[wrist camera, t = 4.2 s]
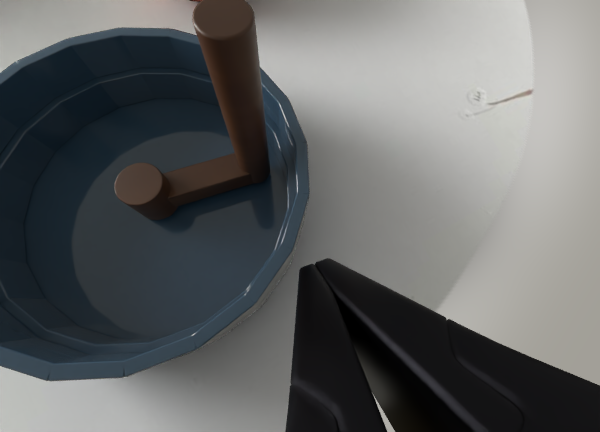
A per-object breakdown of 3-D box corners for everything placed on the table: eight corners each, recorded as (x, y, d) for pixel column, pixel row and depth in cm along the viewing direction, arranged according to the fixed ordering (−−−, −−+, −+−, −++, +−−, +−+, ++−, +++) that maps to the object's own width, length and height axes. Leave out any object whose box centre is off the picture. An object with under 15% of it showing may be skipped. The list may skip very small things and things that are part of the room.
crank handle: (275, 184, 18) (265, 38, 8) (142, 225, 17) (-55, 110, 7) (263, 152, 19) (241, -20, 9) (135, 189, 17) (-56, 38, 8)
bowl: (343, 291, 17) (367, 284, 12) (27, 412, 14) (-101, 464, 10) (256, 68, 22) (247, 0, 17) (5, 129, 19) (-89, 69, 14)
